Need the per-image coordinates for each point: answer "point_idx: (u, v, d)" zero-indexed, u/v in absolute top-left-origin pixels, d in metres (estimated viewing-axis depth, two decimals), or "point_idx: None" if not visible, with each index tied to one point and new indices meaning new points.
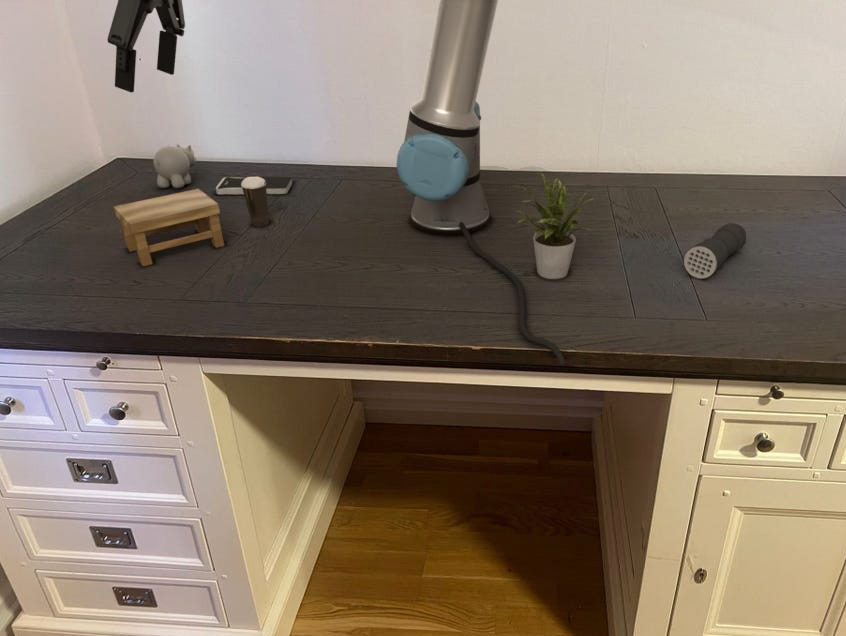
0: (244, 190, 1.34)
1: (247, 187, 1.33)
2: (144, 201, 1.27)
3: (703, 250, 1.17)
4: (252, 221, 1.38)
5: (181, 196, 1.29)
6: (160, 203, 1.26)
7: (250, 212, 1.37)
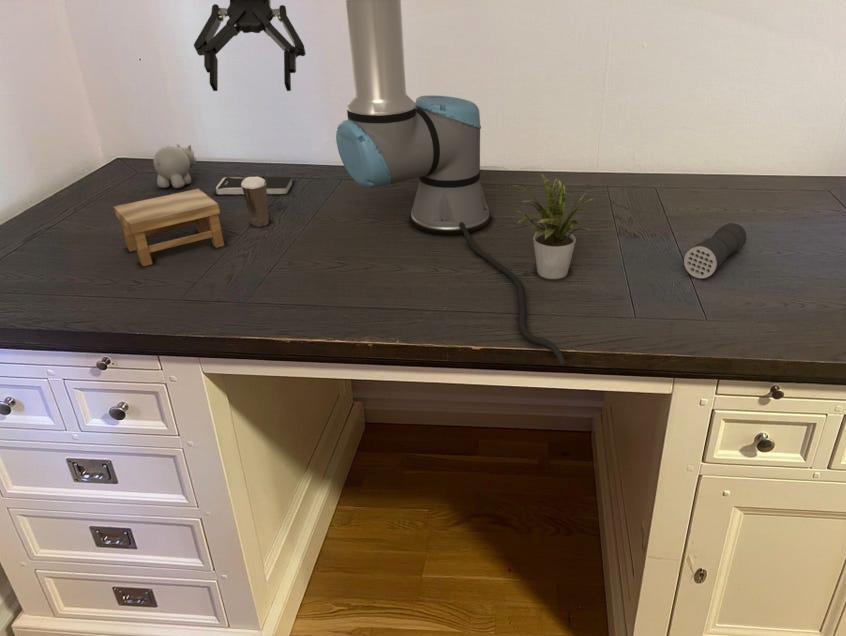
0: (244, 190, 1.34)
1: (247, 187, 1.33)
2: (144, 201, 1.27)
3: (703, 250, 1.17)
4: (252, 221, 1.38)
5: (181, 196, 1.29)
6: (160, 203, 1.26)
7: (250, 212, 1.37)
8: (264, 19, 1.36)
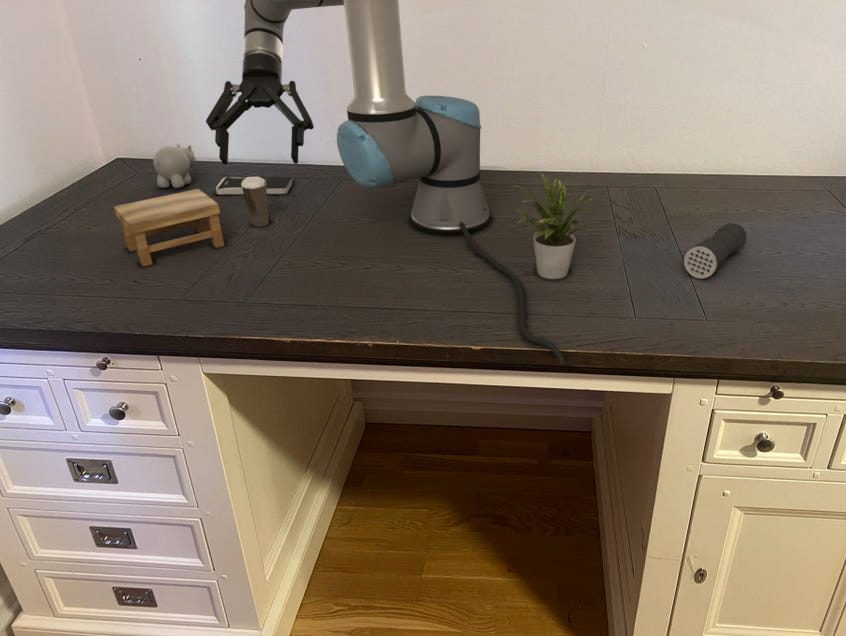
0: (244, 190, 1.34)
1: (247, 187, 1.33)
2: (144, 201, 1.27)
3: (703, 250, 1.17)
4: (252, 221, 1.38)
5: (181, 196, 1.29)
6: (160, 203, 1.26)
7: (250, 212, 1.37)
8: (274, 95, 1.39)
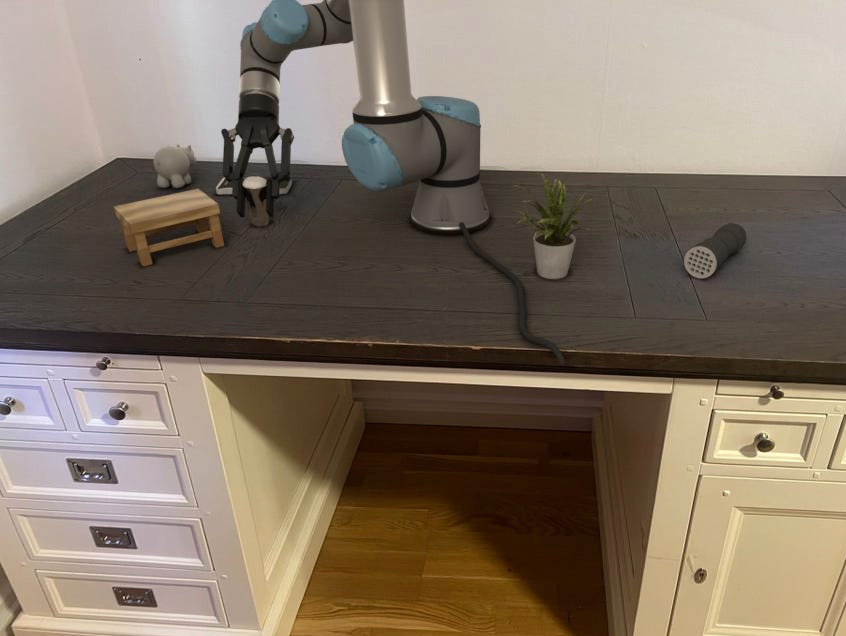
0: (245, 190, 1.34)
1: (249, 186, 1.33)
2: (144, 201, 1.27)
3: (703, 250, 1.17)
4: (252, 221, 1.38)
5: (181, 196, 1.29)
6: (160, 203, 1.26)
7: (251, 212, 1.37)
8: (265, 139, 1.36)
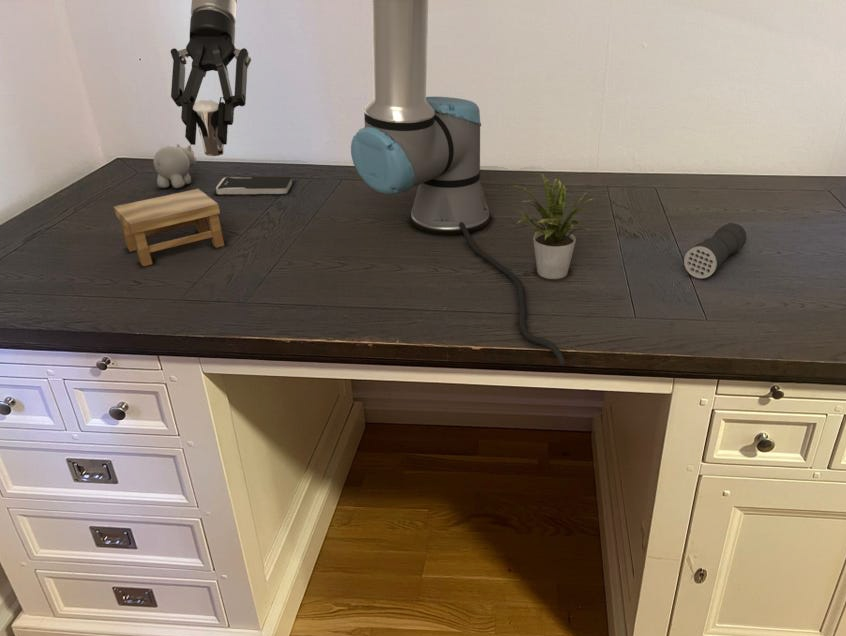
0: (196, 114, 1.23)
1: (199, 110, 1.22)
2: (144, 201, 1.27)
3: (703, 250, 1.17)
4: (205, 150, 1.27)
5: (181, 196, 1.29)
6: (160, 203, 1.26)
7: (203, 140, 1.25)
8: (218, 59, 1.24)
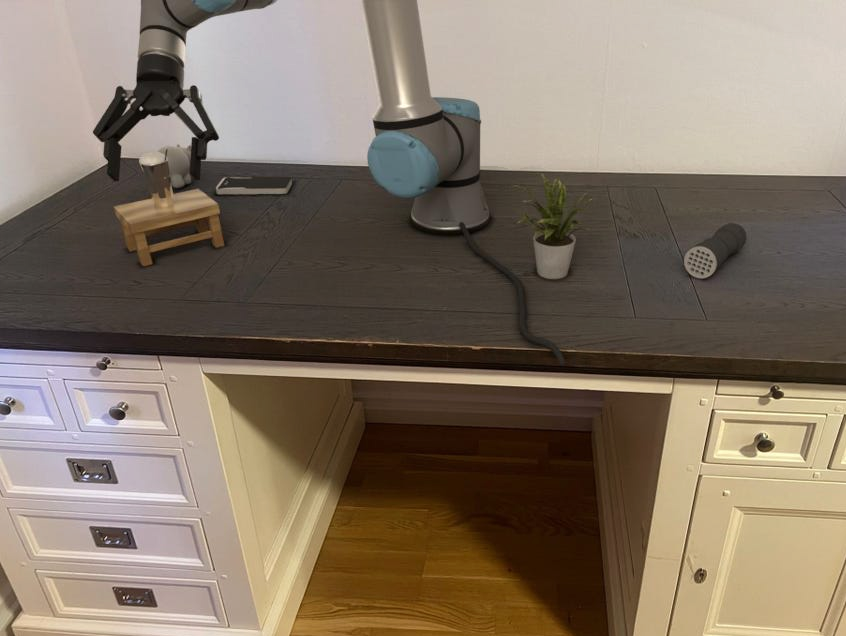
0: (142, 167, 1.20)
1: (145, 163, 1.19)
2: (144, 201, 1.27)
3: (703, 250, 1.17)
4: (154, 202, 1.24)
5: (181, 196, 1.29)
6: None
7: (151, 192, 1.23)
8: (172, 101, 1.22)
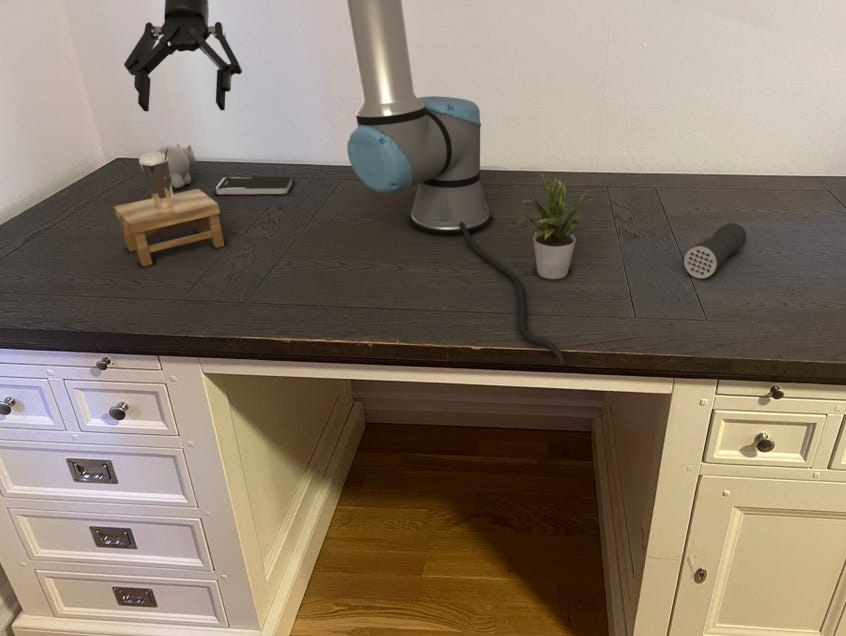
0: (142, 167, 1.20)
1: (145, 163, 1.19)
2: (144, 201, 1.27)
3: (703, 250, 1.17)
4: (154, 202, 1.24)
5: (181, 196, 1.29)
6: None
7: (151, 192, 1.23)
8: (198, 36, 1.30)
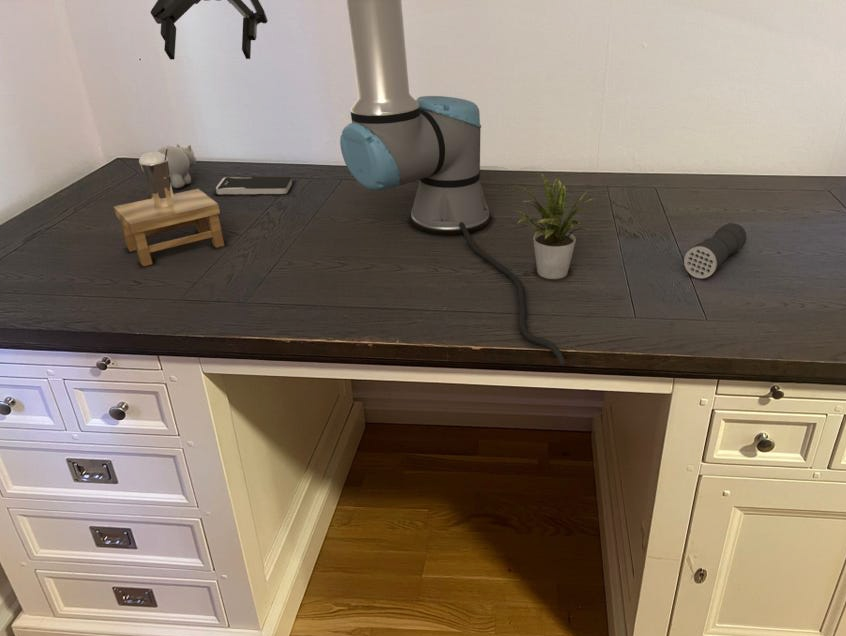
0: (142, 167, 1.20)
1: (145, 163, 1.19)
2: (144, 201, 1.27)
3: (703, 250, 1.17)
4: (154, 202, 1.24)
5: (181, 196, 1.29)
6: None
7: (151, 192, 1.23)
8: None
